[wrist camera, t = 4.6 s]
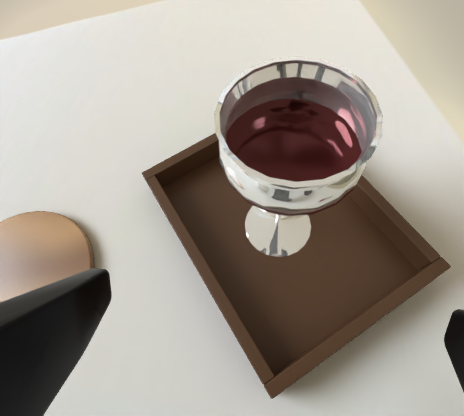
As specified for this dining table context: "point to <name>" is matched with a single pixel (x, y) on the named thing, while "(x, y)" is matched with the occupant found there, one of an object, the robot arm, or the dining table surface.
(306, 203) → the wineglass
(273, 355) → the tray
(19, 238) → the coaster
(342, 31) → the dining table surface
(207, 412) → the dining table surface
